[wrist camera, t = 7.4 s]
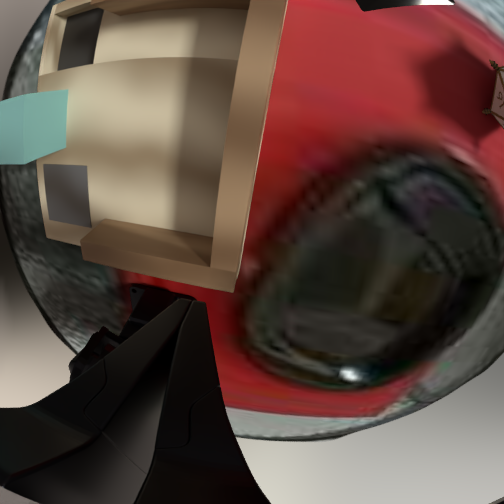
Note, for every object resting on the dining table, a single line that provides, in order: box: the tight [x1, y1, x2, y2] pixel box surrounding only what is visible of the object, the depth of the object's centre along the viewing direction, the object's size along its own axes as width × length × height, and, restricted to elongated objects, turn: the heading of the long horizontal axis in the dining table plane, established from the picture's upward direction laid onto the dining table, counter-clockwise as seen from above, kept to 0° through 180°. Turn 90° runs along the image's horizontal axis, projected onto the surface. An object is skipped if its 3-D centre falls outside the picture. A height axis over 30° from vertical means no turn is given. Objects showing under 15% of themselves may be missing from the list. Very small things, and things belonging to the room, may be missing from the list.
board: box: [36, 0, 288, 278], centre depth 15 cm, size 21×18×2 cm
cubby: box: [80, 0, 287, 293], centre depth 13 cm, size 18×10×4 cm, turn 171°
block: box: [0, 89, 69, 164], centre depth 12 cm, size 4×4×4 cm
